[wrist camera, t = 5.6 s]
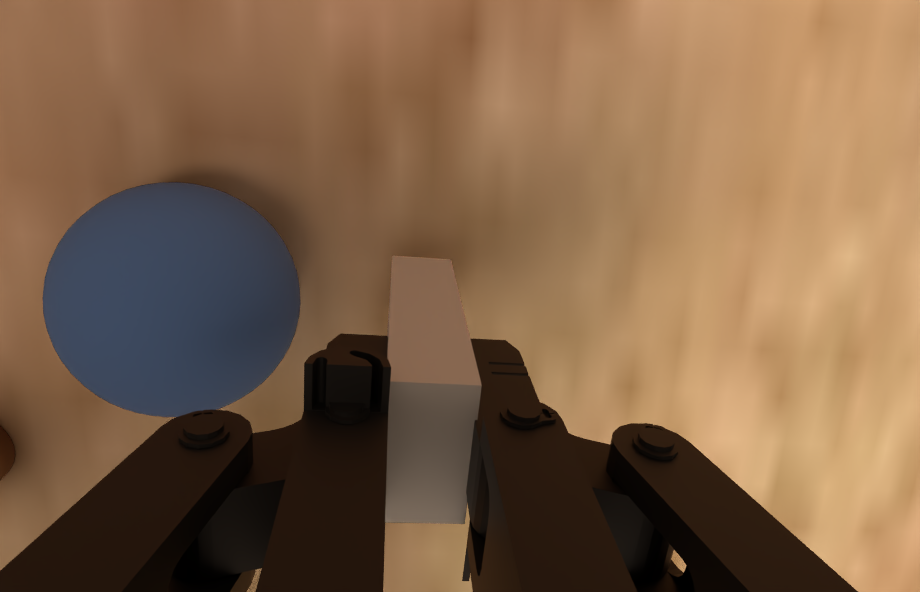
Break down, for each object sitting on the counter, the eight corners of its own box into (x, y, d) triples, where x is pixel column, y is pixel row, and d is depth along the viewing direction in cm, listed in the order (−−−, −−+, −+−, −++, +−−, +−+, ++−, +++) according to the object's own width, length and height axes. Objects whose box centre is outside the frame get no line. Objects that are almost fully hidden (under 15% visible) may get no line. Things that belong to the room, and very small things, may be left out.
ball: (309, 452, 14) (289, 348, 19) (316, 219, 13) (292, 167, 17) (28, 480, 13) (83, 357, 17) (-14, 211, 11) (61, 156, 16)
